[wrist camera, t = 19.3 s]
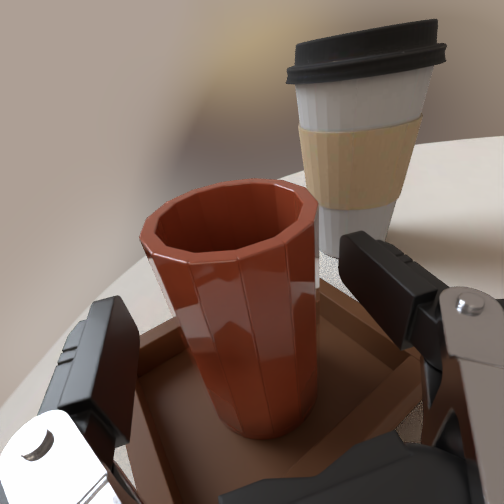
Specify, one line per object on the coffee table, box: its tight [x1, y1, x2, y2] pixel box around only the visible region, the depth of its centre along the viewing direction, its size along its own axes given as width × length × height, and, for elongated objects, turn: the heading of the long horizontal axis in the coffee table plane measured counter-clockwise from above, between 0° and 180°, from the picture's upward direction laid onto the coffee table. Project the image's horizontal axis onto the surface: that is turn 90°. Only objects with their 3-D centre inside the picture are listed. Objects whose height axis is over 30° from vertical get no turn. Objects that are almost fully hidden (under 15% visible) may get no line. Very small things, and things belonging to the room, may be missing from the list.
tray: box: [126, 278, 423, 504], centre depth 15 cm, size 13×11×2 cm
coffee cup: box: [286, 19, 447, 258], centre depth 21 cm, size 9×9×15 cm
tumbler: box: [139, 178, 320, 440], centre depth 12 cm, size 6×6×10 cm
